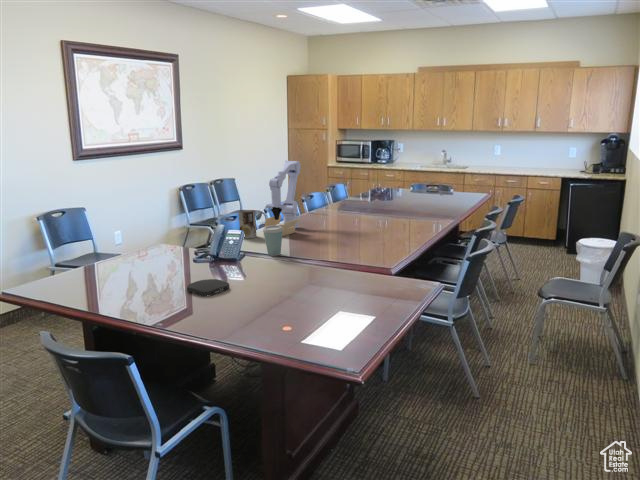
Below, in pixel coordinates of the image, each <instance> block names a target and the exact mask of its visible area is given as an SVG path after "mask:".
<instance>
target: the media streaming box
mask: <svg viewBox="0 0 640 480" xmlns="http://www.w3.org/2000/svg"><path fill="white" fill-rule="evenodd" d="M228 289H229V290H230V283H229V282H227V281H225V280H222V279H217V278H215V279H214V278H213V279H200V280H197V281H193V282H192V283H189V284H188V285H187V286H186V291H187V292H188V291H189V292H188V293H190V292H192V293H191V294H193V293H196V294H198V295H197V296H199V295H201V297H208V296H207V295H211V296H214V295H213V294H215V295H217V294H216V293H218V294H220V292H221V293H224V292H227V291H229V290H228ZM226 290H227V291H226ZM223 291H224V292H223ZM196 294H195V295H196Z"/></svg>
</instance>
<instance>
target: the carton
mask: <svg viewBox="0 0 640 480" xmlns="http://www.w3.org/2000/svg"><path fill="white" fill-rule="evenodd" d="M279 225H280V226H283V225H284V224H279ZM295 233H296V228H295V226H293V227H289V228H286V229H283V231H282V237H285V236H289V235H291V234H295Z"/></svg>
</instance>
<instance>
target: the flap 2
mask: <svg viewBox="0 0 640 480" xmlns="http://www.w3.org/2000/svg"><path fill="white" fill-rule="evenodd" d="M299 221H300V218H298V219H296V220H292V221H289V222H285V223H284V222H283V224H282V225H283V226H282V228H283V229H286V228H289V227H293V226H295V225H296V223H297V222H298V223H299Z"/></svg>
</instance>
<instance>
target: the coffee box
mask: <svg viewBox="0 0 640 480" xmlns="http://www.w3.org/2000/svg"><path fill="white" fill-rule="evenodd" d="M256 221H257V219H256V210H254V209H251V210H249V209H248V210H245V209H244V210H240V211H239V212H238V222H239V231H240V230H243V231H244V233H245V238H244V239H256V237H257V235H258V234H257V222H256Z"/></svg>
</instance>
